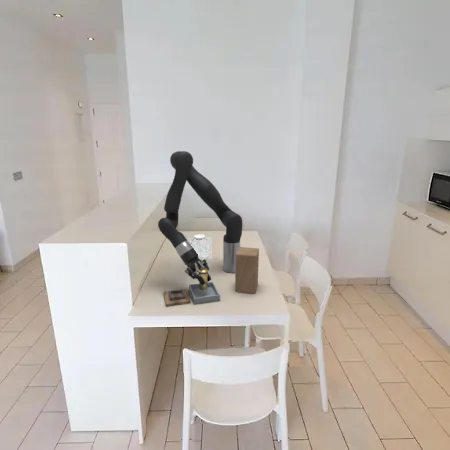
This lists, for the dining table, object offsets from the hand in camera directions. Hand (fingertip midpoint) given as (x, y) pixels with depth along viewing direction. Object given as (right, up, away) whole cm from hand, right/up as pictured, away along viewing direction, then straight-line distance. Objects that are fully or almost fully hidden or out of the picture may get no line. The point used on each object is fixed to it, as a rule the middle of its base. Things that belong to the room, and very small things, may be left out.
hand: (206, 282), depth 157 cm
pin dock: (-14, -8, 0) cm, 16 cm away
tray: (-1, -7, +3) cm, 8 cm away
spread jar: (-7, +9, +56) cm, 57 cm away
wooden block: (+19, -5, +10) cm, 23 cm away
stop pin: (-2, -3, +2) cm, 4 cm away
